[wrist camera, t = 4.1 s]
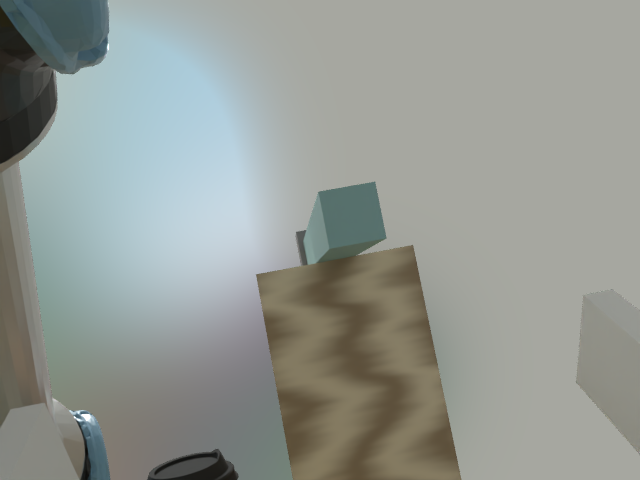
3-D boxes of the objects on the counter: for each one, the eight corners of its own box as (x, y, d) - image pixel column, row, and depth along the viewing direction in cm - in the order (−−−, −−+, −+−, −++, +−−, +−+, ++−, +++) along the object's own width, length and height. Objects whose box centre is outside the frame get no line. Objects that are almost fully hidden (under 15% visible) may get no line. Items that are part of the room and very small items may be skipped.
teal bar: (319, 250, 28) (305, 174, 28) (302, 273, 58) (295, 236, 58) (395, 236, 28) (380, 161, 29) (339, 266, 58) (332, 229, 58)
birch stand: (332, 700, 38) (256, 274, 41) (317, 570, 56) (265, 280, 58) (498, 658, 39) (413, 245, 41) (431, 544, 57) (374, 260, 59)
